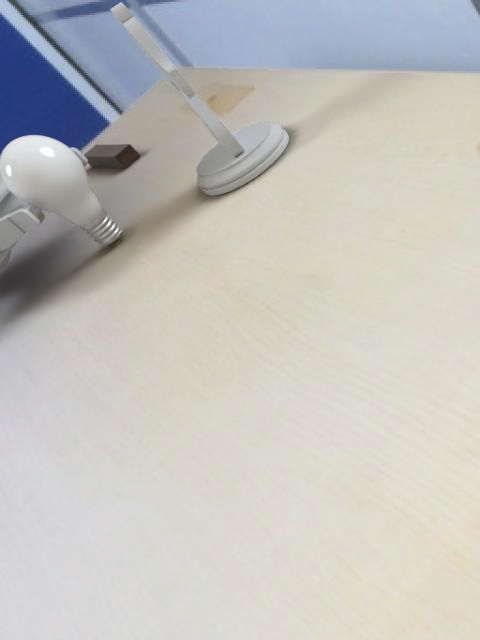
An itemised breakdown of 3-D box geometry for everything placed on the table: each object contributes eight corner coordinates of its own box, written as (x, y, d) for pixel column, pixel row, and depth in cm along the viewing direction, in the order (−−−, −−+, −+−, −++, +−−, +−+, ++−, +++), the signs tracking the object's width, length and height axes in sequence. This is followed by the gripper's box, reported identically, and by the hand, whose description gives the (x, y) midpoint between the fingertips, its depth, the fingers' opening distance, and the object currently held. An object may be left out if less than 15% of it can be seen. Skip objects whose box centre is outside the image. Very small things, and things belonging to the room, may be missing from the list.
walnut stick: (141, 155, 88) (129, 143, 87) (125, 168, 87) (114, 156, 86) (106, 155, 94) (96, 144, 93) (92, 167, 93) (81, 156, 92)
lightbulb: (102, 235, 75) (-1, 139, 67) (152, 212, 74) (53, 110, 66) (79, 272, 71) (-33, 174, 63) (132, 248, 70) (24, 144, 62)
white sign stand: (215, 206, 68) (72, 47, 58) (194, 181, 75) (63, 33, 64) (301, 144, 70) (178, -23, 59) (274, 124, 76) (158, -30, 66)
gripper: (30, 201, 81) (128, 155, 77) (-72, 327, 68) (41, 278, 64) (-27, 150, 76) (75, 99, 72) (-148, 274, 63) (-31, 219, 59)
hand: (58, 184), depth 68 cm, fingers open, 8 cm apart
